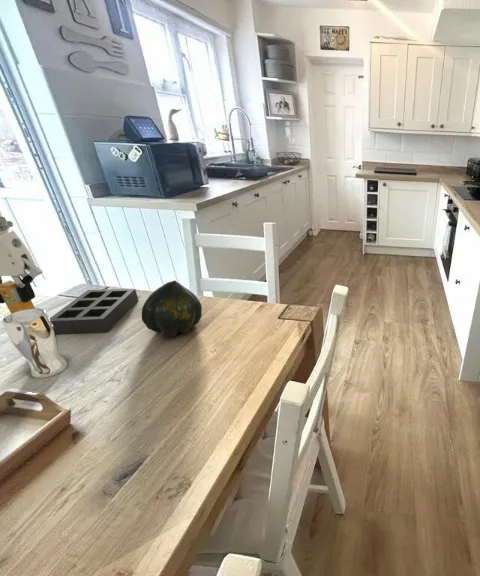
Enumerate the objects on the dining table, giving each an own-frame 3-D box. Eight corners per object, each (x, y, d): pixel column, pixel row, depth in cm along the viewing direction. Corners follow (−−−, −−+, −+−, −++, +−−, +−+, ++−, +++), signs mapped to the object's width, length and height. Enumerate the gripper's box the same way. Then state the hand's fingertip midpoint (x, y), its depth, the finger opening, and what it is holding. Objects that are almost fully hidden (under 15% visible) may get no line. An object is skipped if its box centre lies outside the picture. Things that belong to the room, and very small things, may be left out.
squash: (133, 334, 82) (169, 285, 84) (128, 311, 93) (160, 268, 94) (187, 351, 92) (218, 307, 94) (178, 329, 103) (206, 289, 104)
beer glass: (39, 363, 79) (12, 309, 72) (75, 358, 81) (52, 306, 74) (22, 382, 73) (-8, 326, 66) (62, 376, 75) (36, 321, 69)
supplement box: (13, 322, 79) (-7, 285, 74) (28, 315, 82) (10, 279, 77) (25, 323, 79) (7, 286, 74) (40, 316, 82) (23, 280, 77)
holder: (51, 335, 88) (45, 321, 87) (92, 302, 105) (87, 289, 103) (107, 332, 91) (102, 318, 89) (138, 300, 108) (135, 288, 106)
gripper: (40, 222, 75) (69, 292, 83) (-50, 221, 71) (-12, 294, 79) (15, 231, 69) (48, 306, 76) (-86, 230, 65) (-40, 309, 73)
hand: (17, 299), depth 78 cm, fingers closed on supplement box, 3 cm apart
